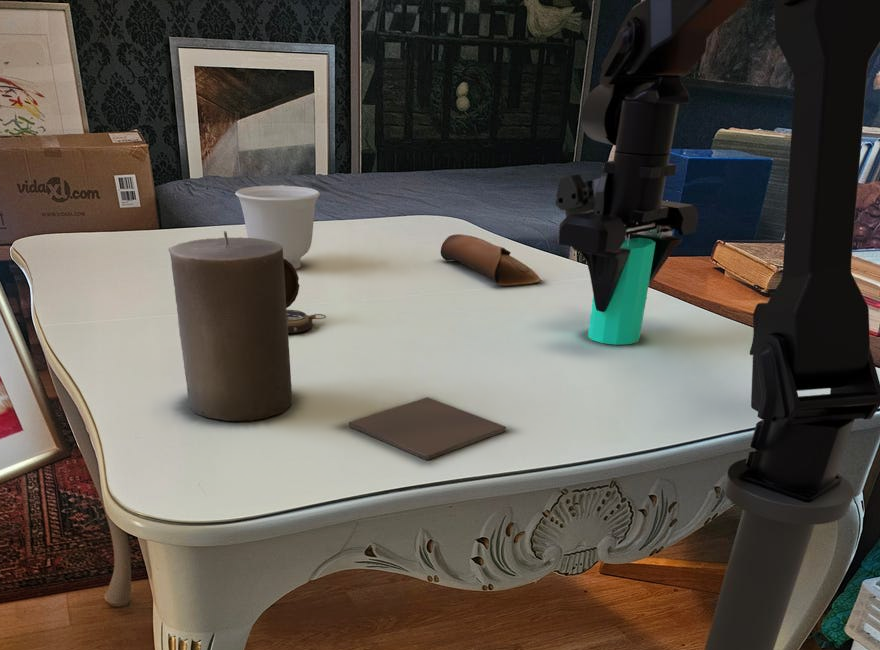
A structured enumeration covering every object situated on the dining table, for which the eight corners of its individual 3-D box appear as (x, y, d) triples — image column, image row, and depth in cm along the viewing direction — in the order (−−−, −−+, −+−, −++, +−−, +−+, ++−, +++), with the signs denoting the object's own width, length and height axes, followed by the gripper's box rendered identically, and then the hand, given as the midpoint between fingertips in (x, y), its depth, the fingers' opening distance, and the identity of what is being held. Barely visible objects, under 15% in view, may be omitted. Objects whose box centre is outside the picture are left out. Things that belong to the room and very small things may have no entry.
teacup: (324, 254, 136) (322, 183, 131) (320, 276, 124) (317, 198, 119) (248, 253, 136) (242, 182, 130) (236, 275, 124) (229, 197, 118)
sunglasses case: (546, 279, 123) (530, 236, 119) (507, 309, 123) (489, 268, 119) (487, 254, 137) (470, 215, 132) (451, 281, 137) (433, 243, 132)
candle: (647, 336, 102) (667, 225, 96) (626, 347, 98) (644, 233, 92) (601, 327, 105) (617, 219, 98) (578, 338, 101) (593, 226, 95)
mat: (506, 430, 77) (506, 426, 77) (427, 460, 72) (427, 456, 71) (427, 401, 83) (427, 397, 83) (348, 426, 77) (348, 422, 77)
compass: (270, 337, 99) (266, 270, 95) (250, 319, 105) (245, 255, 101) (335, 330, 102) (333, 264, 98) (311, 313, 108) (309, 250, 104)
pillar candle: (297, 419, 79) (289, 240, 70) (188, 425, 77) (165, 243, 68) (286, 383, 86) (277, 219, 78) (186, 388, 85) (166, 221, 76)
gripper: (628, 140, 101) (607, 281, 110) (526, 150, 90) (512, 305, 99) (714, 149, 94) (684, 298, 103) (615, 161, 84) (591, 326, 93)
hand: (617, 306), depth 100 cm, fingers closed on candle, 6 cm apart
